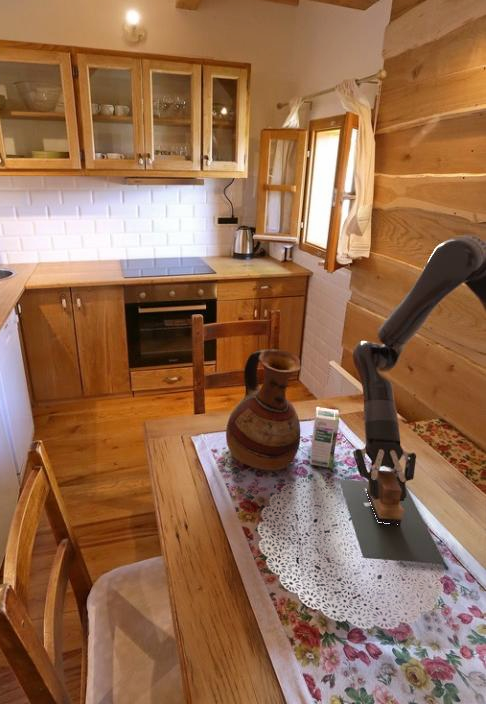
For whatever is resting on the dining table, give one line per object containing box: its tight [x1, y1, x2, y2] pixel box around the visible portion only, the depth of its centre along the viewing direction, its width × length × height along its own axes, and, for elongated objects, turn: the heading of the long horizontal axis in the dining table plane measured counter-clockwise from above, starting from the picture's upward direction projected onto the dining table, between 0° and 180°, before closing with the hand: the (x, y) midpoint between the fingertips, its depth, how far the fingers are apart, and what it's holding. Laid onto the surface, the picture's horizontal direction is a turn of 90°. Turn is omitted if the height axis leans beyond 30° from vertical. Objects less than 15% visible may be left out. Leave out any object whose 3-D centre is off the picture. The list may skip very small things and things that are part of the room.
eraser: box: [367, 470, 404, 525], centre depth 91 cm, size 5×9×8 cm, turn 176°
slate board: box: [338, 478, 446, 565], centre depth 90 cm, size 16×22×1 cm
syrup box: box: [309, 406, 340, 469], centre depth 106 cm, size 6×6×14 cm
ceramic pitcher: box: [225, 348, 302, 471], centre depth 105 cm, size 20×20×30 cm
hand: (388, 499), depth 89 cm, fingers closed on eraser, 4 cm apart
